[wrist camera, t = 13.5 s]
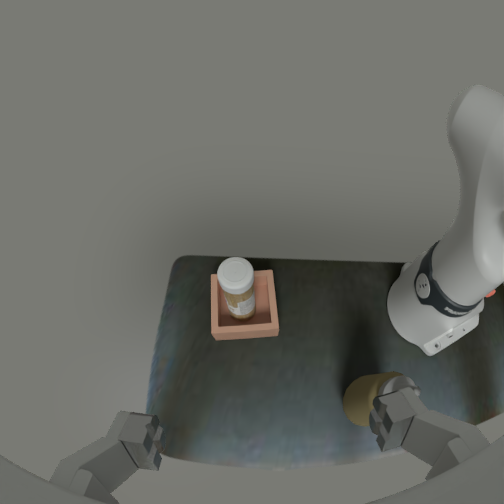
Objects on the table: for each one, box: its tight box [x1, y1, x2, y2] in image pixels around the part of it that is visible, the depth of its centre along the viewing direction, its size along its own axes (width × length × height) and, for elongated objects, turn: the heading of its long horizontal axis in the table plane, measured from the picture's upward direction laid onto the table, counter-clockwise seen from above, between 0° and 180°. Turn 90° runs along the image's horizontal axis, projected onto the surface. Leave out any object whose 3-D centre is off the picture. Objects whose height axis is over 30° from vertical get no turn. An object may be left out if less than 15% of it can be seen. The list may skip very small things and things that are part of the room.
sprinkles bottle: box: [217, 257, 256, 322], centre depth 40 cm, size 5×5×14 cm
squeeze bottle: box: [343, 371, 421, 426], centre depth 29 cm, size 8×8×18 cm
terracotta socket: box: [211, 270, 279, 340], centre depth 44 cm, size 10×10×4 cm
